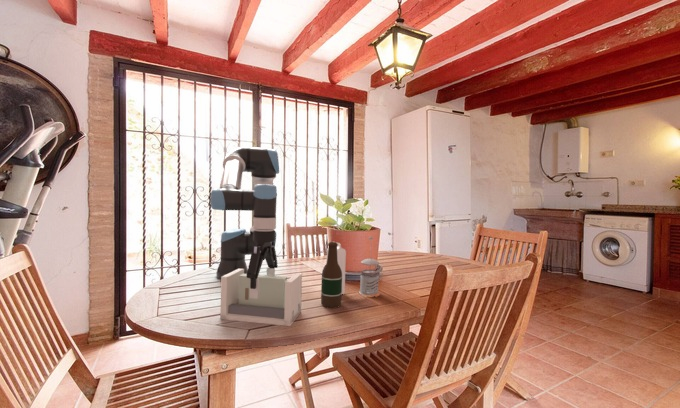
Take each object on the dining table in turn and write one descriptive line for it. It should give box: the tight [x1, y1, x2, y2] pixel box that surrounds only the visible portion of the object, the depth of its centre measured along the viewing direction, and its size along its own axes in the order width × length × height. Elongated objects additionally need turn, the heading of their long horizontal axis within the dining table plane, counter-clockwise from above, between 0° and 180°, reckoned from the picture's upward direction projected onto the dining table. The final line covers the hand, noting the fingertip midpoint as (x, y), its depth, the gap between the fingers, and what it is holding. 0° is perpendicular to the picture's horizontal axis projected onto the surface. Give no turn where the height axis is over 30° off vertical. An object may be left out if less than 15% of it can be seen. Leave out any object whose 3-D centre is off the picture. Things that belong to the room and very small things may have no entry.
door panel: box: [238, 274, 288, 309], centre depth 105 cm, size 16×3×12 cm, turn 81°
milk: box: [325, 241, 347, 295], centre depth 131 cm, size 6×6×22 cm
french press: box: [358, 236, 383, 295], centre depth 132 cm, size 10×12×25 cm
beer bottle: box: [320, 241, 342, 309], centre depth 117 cm, size 8×8×24 cm
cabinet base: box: [219, 269, 303, 327], centre depth 105 cm, size 24×12×14 cm, turn 81°
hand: (262, 291), depth 105 cm, fingers open, 13 cm apart
